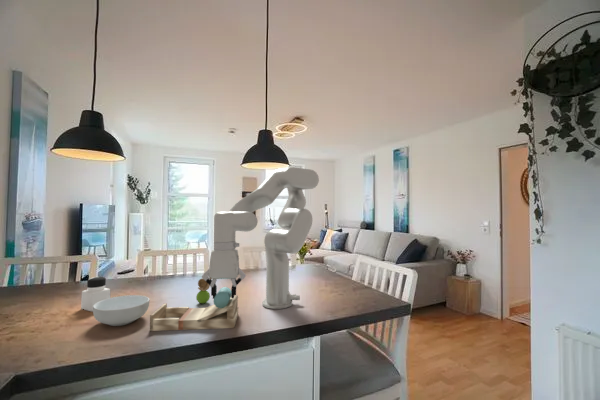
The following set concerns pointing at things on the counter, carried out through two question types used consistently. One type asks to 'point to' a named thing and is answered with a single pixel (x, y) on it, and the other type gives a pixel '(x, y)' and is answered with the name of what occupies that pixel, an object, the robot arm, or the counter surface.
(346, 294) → the counter surface
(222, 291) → the roller
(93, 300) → the medicine bottle
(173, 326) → the launch ramp
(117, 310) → the cereal bowl
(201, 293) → the snail figurine
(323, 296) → the counter surface
